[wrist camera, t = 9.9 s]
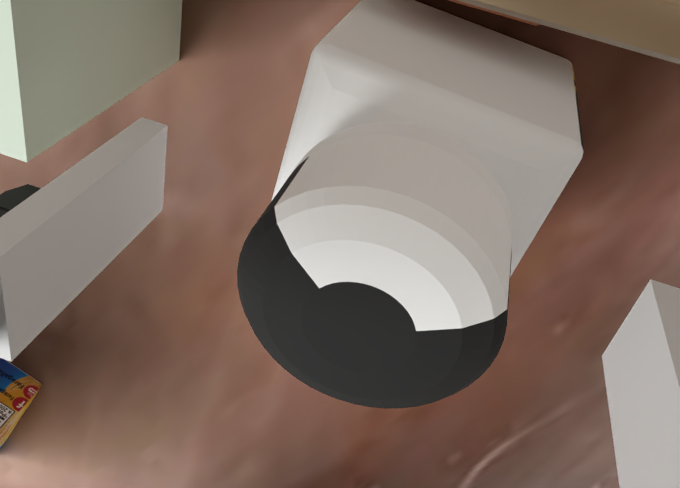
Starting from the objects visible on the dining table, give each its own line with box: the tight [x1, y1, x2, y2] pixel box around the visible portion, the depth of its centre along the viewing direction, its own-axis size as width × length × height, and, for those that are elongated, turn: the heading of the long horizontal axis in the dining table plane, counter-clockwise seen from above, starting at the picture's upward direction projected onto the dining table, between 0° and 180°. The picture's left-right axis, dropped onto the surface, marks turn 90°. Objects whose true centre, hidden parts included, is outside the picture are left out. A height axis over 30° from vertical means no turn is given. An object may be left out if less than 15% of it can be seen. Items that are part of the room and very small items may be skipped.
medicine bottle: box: [237, 0, 584, 408], centre depth 18 cm, size 7×7×12 cm
